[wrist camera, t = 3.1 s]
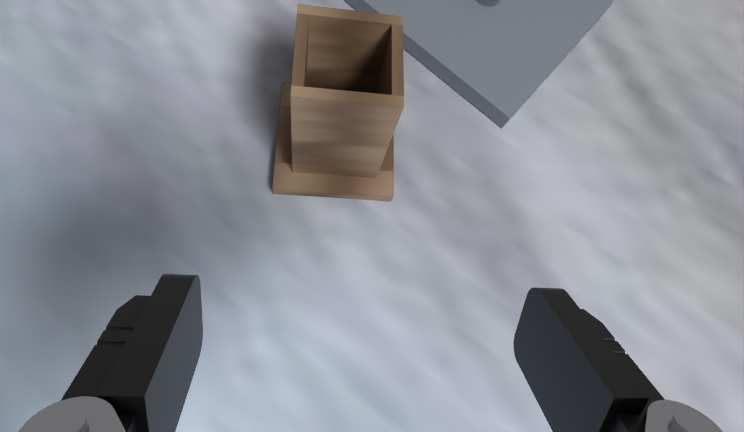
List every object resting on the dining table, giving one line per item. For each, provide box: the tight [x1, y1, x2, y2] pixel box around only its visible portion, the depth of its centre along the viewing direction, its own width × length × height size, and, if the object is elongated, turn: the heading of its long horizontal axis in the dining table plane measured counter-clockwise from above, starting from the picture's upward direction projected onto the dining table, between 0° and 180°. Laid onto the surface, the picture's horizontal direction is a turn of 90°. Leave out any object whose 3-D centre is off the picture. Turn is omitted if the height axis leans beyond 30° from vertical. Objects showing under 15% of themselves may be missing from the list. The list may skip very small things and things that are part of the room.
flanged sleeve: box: [272, 4, 404, 201], centre depth 29 cm, size 8×8×10 cm
